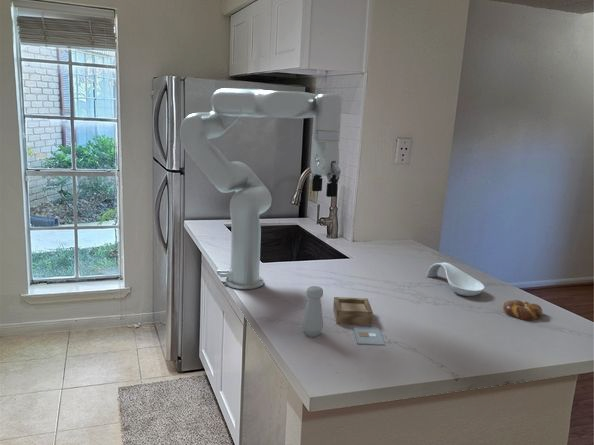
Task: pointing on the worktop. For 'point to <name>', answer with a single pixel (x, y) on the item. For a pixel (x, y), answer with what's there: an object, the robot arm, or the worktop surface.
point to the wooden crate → (352, 311)
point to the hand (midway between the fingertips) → (323, 193)
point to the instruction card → (368, 335)
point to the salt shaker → (313, 312)
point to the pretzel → (522, 310)
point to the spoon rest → (458, 280)
